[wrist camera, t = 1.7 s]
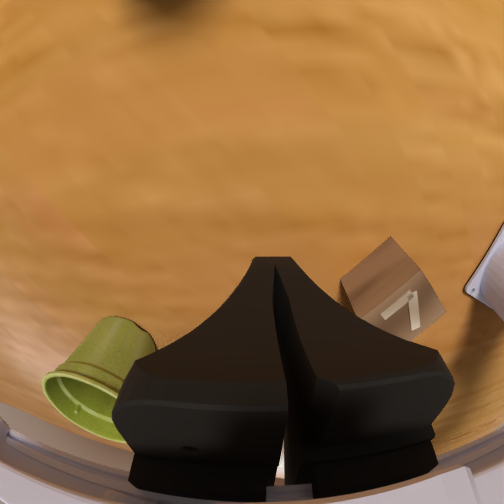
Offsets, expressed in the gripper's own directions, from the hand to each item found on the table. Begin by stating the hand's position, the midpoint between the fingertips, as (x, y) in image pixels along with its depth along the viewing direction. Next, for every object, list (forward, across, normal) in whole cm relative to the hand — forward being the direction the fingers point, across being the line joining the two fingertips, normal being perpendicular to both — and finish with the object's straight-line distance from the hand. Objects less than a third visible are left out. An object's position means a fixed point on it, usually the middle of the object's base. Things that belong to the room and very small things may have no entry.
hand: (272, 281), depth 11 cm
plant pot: (+10, +13, +13) cm, 20 cm away
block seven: (+10, -9, +6) cm, 14 cm away
